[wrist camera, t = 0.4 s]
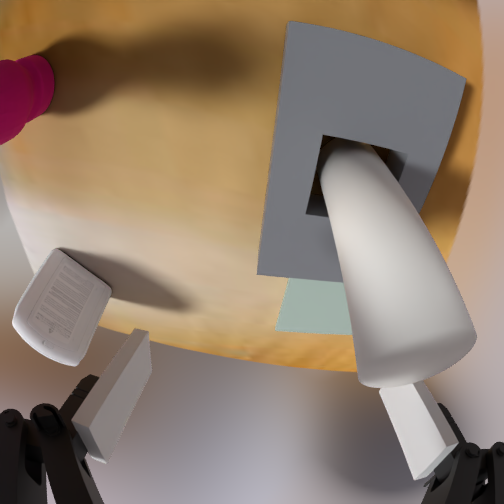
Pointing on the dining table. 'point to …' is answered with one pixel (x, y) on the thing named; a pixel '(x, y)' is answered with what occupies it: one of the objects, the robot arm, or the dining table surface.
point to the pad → (314, 308)
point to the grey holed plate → (347, 135)
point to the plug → (390, 272)
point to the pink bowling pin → (23, 93)
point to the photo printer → (61, 309)
